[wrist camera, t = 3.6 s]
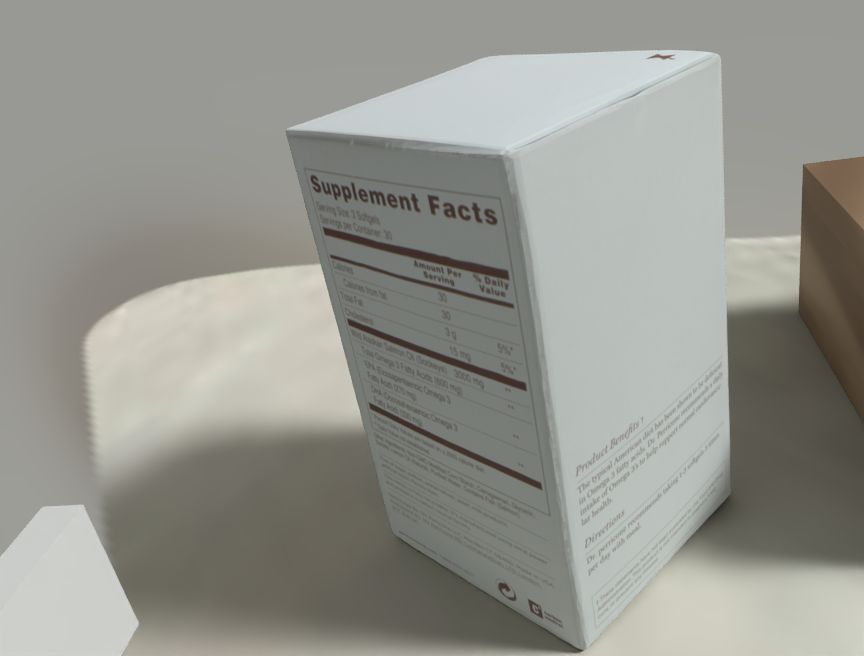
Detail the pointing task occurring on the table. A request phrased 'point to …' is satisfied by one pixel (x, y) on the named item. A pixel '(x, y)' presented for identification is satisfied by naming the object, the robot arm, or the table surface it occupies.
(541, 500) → the supplement box
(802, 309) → the shelf
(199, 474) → the table surface
